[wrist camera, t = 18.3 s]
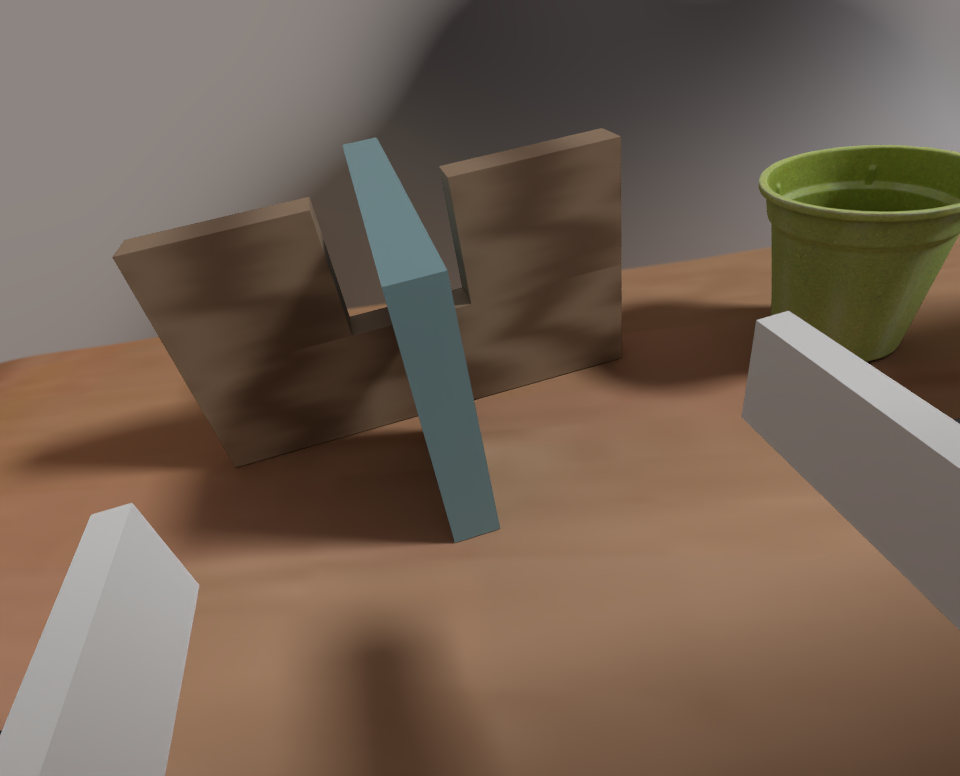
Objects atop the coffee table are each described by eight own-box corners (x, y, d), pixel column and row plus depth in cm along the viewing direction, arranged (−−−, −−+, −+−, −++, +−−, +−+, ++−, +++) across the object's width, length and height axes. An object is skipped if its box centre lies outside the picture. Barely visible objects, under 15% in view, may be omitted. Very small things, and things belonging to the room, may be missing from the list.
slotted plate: (420, 316, 40) (376, 137, 33) (500, 528, 24) (447, 270, 17) (393, 323, 40) (342, 145, 32) (454, 542, 24) (381, 287, 17)
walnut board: (606, 340, 34) (602, 128, 27) (621, 357, 32) (620, 136, 25) (238, 443, 31) (124, 239, 24) (235, 467, 30) (112, 257, 23)
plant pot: (702, 327, 34) (716, 179, 28) (820, 277, 36) (853, 132, 31) (845, 410, 26) (898, 233, 21) (981, 341, 29) (1059, 166, 24)
